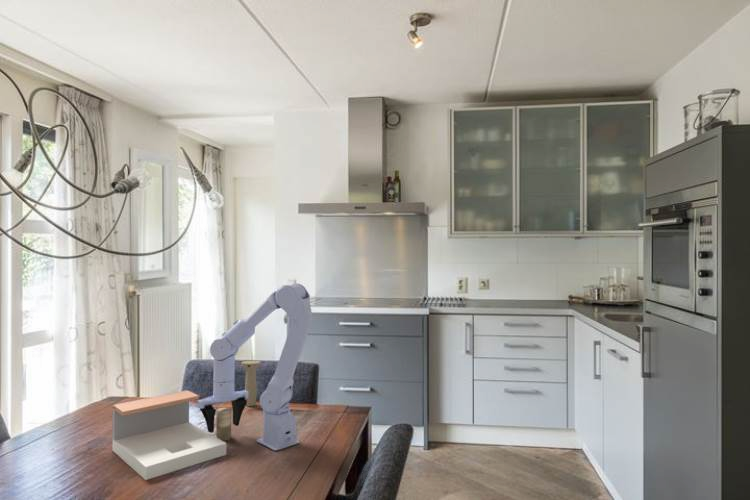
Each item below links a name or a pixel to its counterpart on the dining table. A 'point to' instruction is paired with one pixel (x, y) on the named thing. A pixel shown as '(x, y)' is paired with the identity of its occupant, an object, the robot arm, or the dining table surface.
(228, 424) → the peg
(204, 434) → the station
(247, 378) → the handle
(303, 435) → the dining table surface
